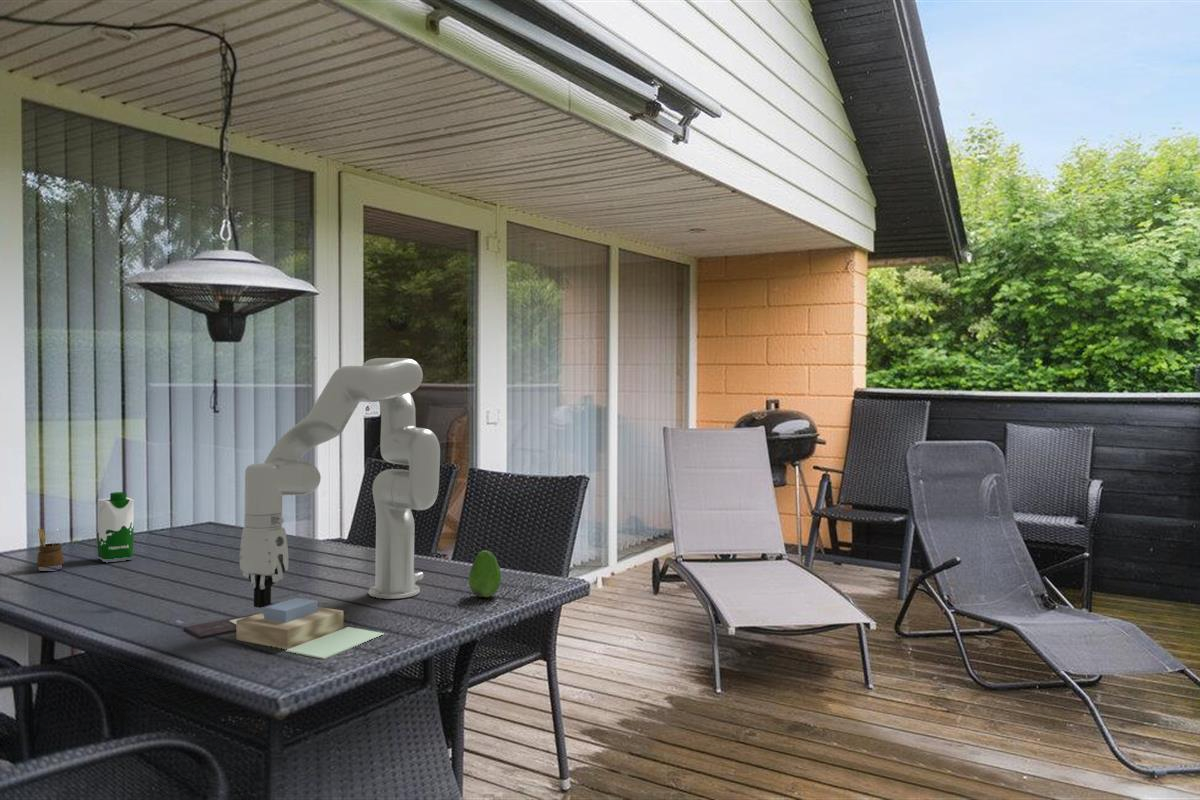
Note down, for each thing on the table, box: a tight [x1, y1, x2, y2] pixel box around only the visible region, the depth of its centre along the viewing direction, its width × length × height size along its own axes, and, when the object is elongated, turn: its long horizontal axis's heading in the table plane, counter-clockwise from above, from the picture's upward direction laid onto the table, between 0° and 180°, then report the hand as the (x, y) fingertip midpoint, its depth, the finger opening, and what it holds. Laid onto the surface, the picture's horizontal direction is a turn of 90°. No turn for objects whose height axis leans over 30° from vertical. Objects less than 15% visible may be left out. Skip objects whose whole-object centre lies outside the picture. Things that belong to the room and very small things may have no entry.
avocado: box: [468, 549, 502, 598], centre depth 210 cm, size 8×8×12 cm
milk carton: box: [96, 491, 135, 559], centre depth 244 cm, size 9×9×20 cm
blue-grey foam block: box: [263, 597, 319, 623], centre depth 176 cm, size 9×6×2 cm, turn 156°
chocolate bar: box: [183, 612, 260, 640], centre depth 182 cm, size 9×1×18 cm
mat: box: [285, 626, 386, 660], centre depth 171 cm, size 18×10×1 cm, turn 156°
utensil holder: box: [37, 528, 64, 568], centre depth 230 cm, size 6×6×12 cm
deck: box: [235, 606, 344, 650], centre depth 176 cm, size 16×14×4 cm
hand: (262, 605), depth 180 cm, fingers closed
